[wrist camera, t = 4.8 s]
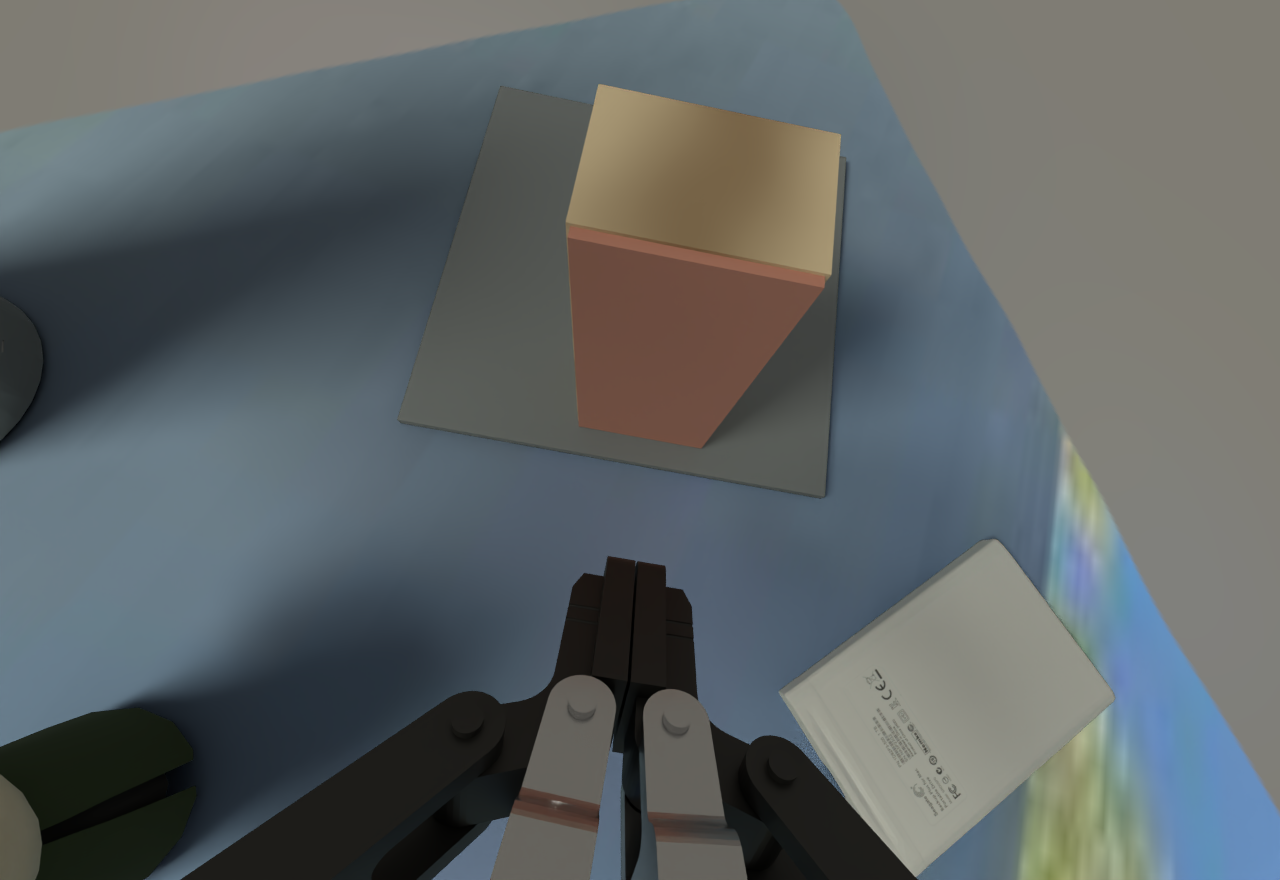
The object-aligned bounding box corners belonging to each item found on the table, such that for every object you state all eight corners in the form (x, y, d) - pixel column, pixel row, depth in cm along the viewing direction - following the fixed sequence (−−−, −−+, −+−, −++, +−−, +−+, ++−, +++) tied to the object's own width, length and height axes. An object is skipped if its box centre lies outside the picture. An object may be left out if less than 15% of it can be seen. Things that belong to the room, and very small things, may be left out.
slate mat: (400, 423, 25) (397, 419, 24) (501, 93, 31) (500, 85, 30) (820, 498, 26) (824, 496, 25) (842, 164, 31) (846, 157, 31)
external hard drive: (1088, 694, 25) (886, 871, 22) (974, 540, 26) (773, 688, 24) (1121, 701, 23) (909, 892, 21) (998, 537, 25) (786, 695, 22)
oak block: (576, 426, 25) (562, 233, 12) (593, 343, 26) (598, 83, 13) (702, 449, 25) (830, 286, 12) (713, 366, 27) (841, 134, 13)
